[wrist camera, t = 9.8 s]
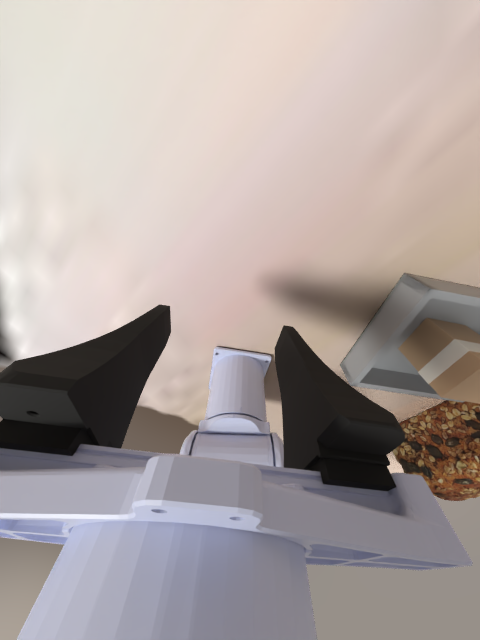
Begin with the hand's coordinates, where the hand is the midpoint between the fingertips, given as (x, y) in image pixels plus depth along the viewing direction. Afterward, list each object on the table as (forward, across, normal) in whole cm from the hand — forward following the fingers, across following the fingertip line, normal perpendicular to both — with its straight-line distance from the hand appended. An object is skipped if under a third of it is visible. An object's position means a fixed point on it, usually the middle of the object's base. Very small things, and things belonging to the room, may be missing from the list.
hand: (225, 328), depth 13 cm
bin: (+10, -25, +4) cm, 27 cm away
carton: (+10, -25, +4) cm, 27 cm away
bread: (+10, -41, +20) cm, 46 cm away
